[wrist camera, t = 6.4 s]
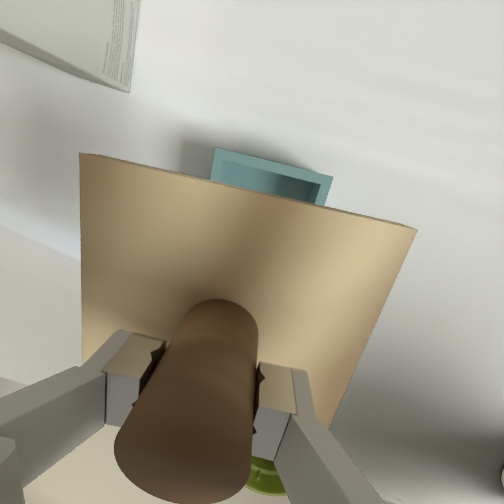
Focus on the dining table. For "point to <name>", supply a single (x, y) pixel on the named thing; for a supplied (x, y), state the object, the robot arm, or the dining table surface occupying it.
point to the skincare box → (75, 36)
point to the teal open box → (269, 177)
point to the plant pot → (264, 478)
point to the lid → (222, 309)
